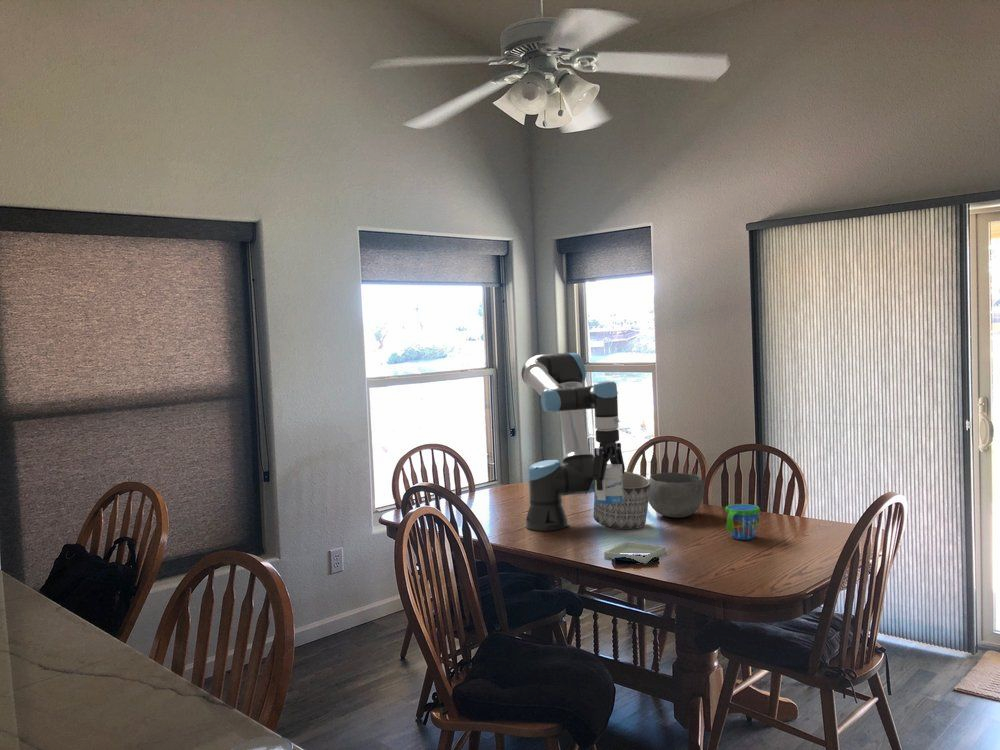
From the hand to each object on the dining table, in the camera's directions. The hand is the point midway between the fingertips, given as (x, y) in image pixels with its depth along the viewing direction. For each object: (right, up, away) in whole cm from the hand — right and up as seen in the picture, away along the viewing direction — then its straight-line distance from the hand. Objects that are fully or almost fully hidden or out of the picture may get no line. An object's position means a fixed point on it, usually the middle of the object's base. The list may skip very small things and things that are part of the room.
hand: (609, 496), depth 269 cm
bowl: (+29, -13, +35) cm, 47 cm away
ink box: (0, -2, 0) cm, 2 cm away
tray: (+6, -16, -14) cm, 22 cm away
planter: (+6, -13, +24) cm, 28 cm away
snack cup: (+44, -14, 0) cm, 46 cm away
